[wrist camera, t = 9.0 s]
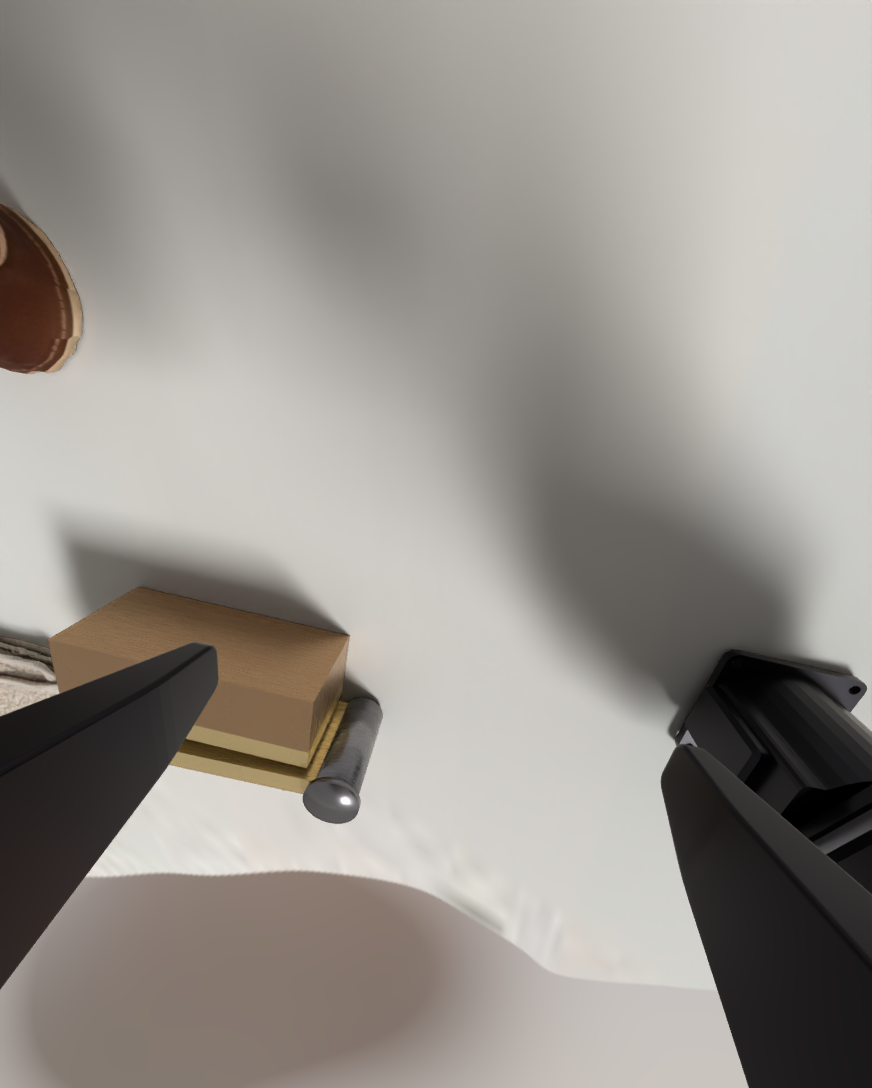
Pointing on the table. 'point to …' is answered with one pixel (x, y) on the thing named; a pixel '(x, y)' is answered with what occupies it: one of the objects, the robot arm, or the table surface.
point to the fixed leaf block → (220, 668)
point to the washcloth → (24, 674)
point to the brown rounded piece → (34, 300)
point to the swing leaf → (328, 774)
